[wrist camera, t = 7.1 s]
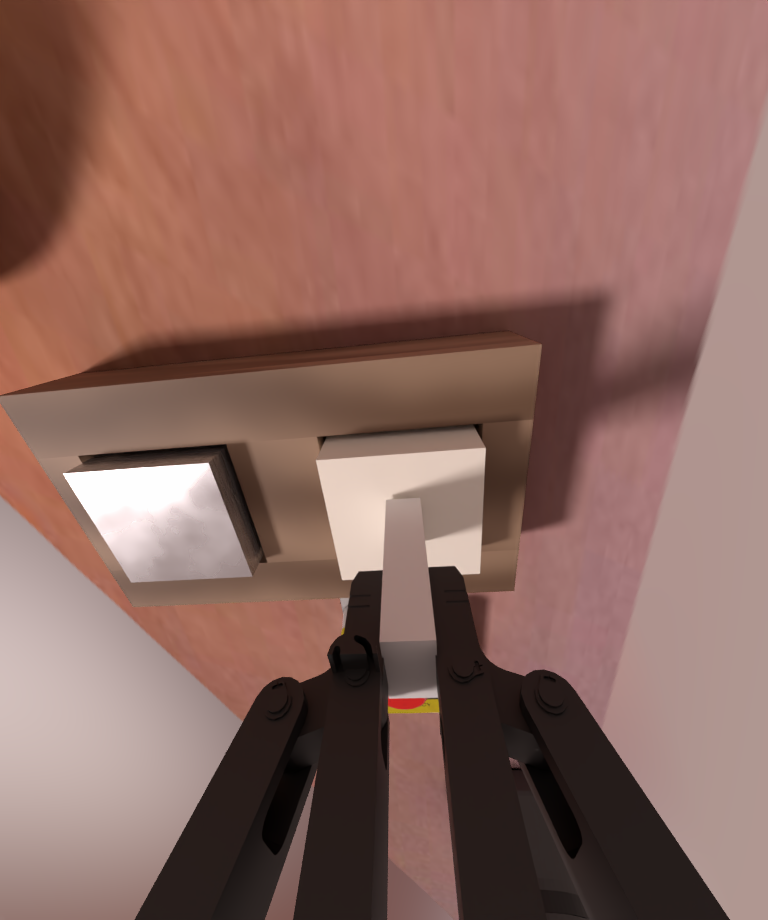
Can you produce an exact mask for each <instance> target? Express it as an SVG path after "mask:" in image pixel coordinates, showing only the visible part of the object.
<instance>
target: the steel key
mask: <svg viewBox="0 0 768 920" xmlns="http://www.w3.org/2000/svg"><path fill="white" fill-rule="evenodd" d="M64 476H65V478H66V479H67V481H68V482H69V484H70V486H71V487H72V489H73V490H74V492H75V494H76V495H77V497H78V498H79V500H80V502H81V503H82V505H83V506H84V508H85V510H86V511H87V513H88V514H89V516H90V518H91V519H92V521H93V522H94V524H95V526H96V527H97V529H98V530H99V532H100V533H101V535H102V537H103V538H104V540H105V541H106V543H107V545H108V546H109V548H110V549H111V551H112V553H113V554H114V556H115V557H116V559H117V561H118V562H119V564H120V565H121V567H122V569H123V570H124V572H125V573H126V575H127V577H128V578H129V580H130V581H131V583H132V582H153V581H173V580H194V579H214V578H235V577H253V575H254V573H255V571H256V569H257V567H258V565H259V562H260V560H261V558H262V556H263V554H264V551H263V548H262V545H261V543H260V540H259V537H258V534H257V531H256V528H255V525H254V523H253V520H252V517H251V514H250V511H249V508H248V505H247V503H246V500H245V497H244V494H243V491H242V488H241V485H240V483H239V480H238V477H237V474H236V471H235V468H234V465H233V463H232V460H231V457H230V454H229V451H228V448H227V445H226V444H220V445H207V446H195V447H182V448H170V449H157V450H145V451H132V452H120V453H107V454H98V455H96V456H94V457H92V458H91V459H89V460H87V461H85V462H83V463H82V464H80V465H78V466H76V467H75V468H73V469H71V470H69V471H68V472H66V473H64Z"/></svg>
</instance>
